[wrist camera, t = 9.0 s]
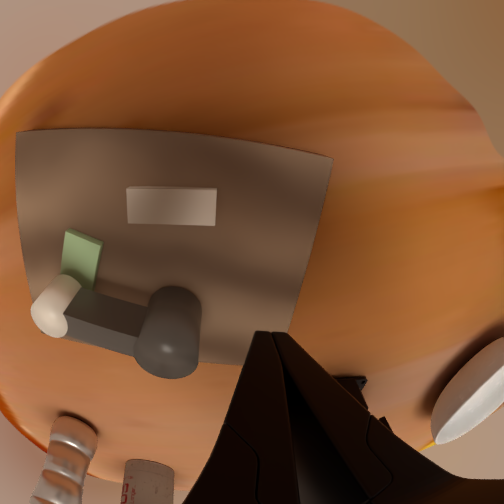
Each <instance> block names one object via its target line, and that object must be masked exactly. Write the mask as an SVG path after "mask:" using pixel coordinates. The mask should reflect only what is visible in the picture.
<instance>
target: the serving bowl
mask: <svg viewBox="0 0 504 504" xmlns="http://www.w3.org/2000/svg"><path fill="white" fill-rule="evenodd" d="M503 402H504V337H501V338H499V339H497V340H495V341H493V342H492V343H490V344H489V345H487V346H486V347H485V348H483V349H482V350H481V351H479V352H478V353H477V354H476V355H475V356H474V357H473V358H471V359H470V360H469V361H468V362H467V363H466V364H465V365H464V366H463V367H462V368H461V369H460V370H459V371H458V373H457V374H456V375H455V376H454V377H453V378H452V379H451V381H450V382H449V383H448V384H447V386H446V387H445V388H444V390H443V391H442V393H441V394H440V396H439V398H438V400H437V402H436V404H435V406H434V409H433V412H432V416H431V432H432V436H433V439H434V442H435V443H436V444H444V443H448V442H450V441H452V440H454V439H456V438H458V437H460V436H462V435H463V434H465V433H467V432H468V431H470V430H471V429H473V428H474V427H475V426H477V425H478V424H479V423H481V422H482V421H483V420H484V419H485V418H487V417H488V416H489V415H490V414H491V413H493V412H494V411H495V410H496V409H497V408H498V407H499V406H500V405H501V404H502V403H503Z"/></svg>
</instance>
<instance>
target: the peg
mask: <svg viewBox="0 0 504 504" xmlns="http://www.w3.org/2000/svg"><path fill="white" fill-rule="evenodd" d="M31 315H32V318H33V320H34V322H35V324H36V325H37V326H38V327H39V329H41V330H42V331H43V332H44V333H46V334H47V335H49V336H52V337H56V338H59V337H63V336H64V335H67V336H70V337H73V338H76V339H78V340H81V341H84V342H87V343H90V344H93V345H96V346H99V347H102V348H106V349H109V350H112V351H115V352H119V353H122V354H126V355H129V356H133V357H135V359H136V361H137V363H138V364H139V365H140V366H141V367H142V368H143V369H144V370H146V371H147V372H149V373H150V374H153V375H155V376H158V377H161V378H167V379H178V378H182V377H186V376H188V375H190V374H191V373H192V372H194V370H195V369H196V368H197V365H198V359H199V344H200V330H201V317H202V307H201V304H200V302H199V300H198V299H197V297H196V296H195V295H194V294H192V293H191V292H190V291H188V290H186V289H184V288H180V287H174V286H169V287H164V288H161V289H159V290H157V291H156V292H155V293H154V294H153V295H152V296H151V298H150V300H149V303H148V306H147V307H146V306H142V305H138V304H135V303H131V302H128V301H124V300H121V299H117V298H114V297H110V296H107V295H104V294H101V293H97V292H94V291H91V290H88V289H85V288H82V286H81V285H80V284H79V282H78V281H77V280H75V279H74V278H73V277H71V276H68V275H64V274H61V275H58V276H56V277H55V278H54V279H53V280H52V281H51V283H50V284H49V285H48V286H47V287H46V288H45V290H44V291H43V292H42V293H41V294H40V296H39V297H38V298H37V299H36V301H35V302H34V303H33V304H32V306H31Z"/></svg>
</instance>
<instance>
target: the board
mask: <svg viewBox="0 0 504 504" xmlns="http://www.w3.org/2000/svg"><path fill="white" fill-rule="evenodd" d="M333 161H334V159H333V158H330V157H327V156H324V155H321V154H316V153H312V152H307V151H303V150H298V149H293V148H288V147H283V146H278V145H272V144H267V143H261V142H255V141H249V140H243V139H236V138H229V137H222V136H214V135H206V134H197V133H187V132H177V131H165V130H150V129H131V128H56V129H38V130H29V131H22V132H16V152H15V180H16V201H17V214H18V224H19V232H20V240H21V247H22V253H23V259H24V265H25V270H26V275H27V280H28V284H29V289H30V293H31V297H32V301H33V303H34V302H35V301H36V299H37V298H38V297H39V296H40V294H41V293H42V292H43V291H44V290H45V288H46V287H47V286H48V285H49V284H50V283H51V281H52V280H53V279H54V278H55V277H56V276H58V275H61V274H64V275H68V276H71V277H73V278H74V279H75V280H77V281H78V282H79V284H80V285H81V286H82V288H85V289H88V290H91V291H94V292H97V293H101V294H104V295H107V296H110V297H114V298H117V299H121V300H124V301H128V302H131V303H135V304H138V305H142V306H146V307H147V306H148V303H149V300H150V298H151V296H152V295H153V294H154V293H155V292H156V291H157V290H159V289H161V288H164V287H169V286H174V287H180V288H184V289H186V290H188V291H190V292H191V293H192V294H194V295H195V296H196V297H197V299H198V300H199V302H200V304H201V307H202V317H201V330H200V344H199V359H198V362H204V363H216V364H229V365H244V362H245V359H246V356H247V353H248V350H249V347H250V344H251V341H252V338H253V335H254V332H255V331H256V330H260V331H269V332H273V331H277V332H286V333H287V332H288V329H289V325H290V322H291V319H292V316H293V313H294V309H295V306H296V303H297V299H298V296H299V293H300V289H301V286H302V282H303V279H304V275H305V272H306V268H307V265H308V261H309V257H310V254H311V250H312V246H313V243H314V239H315V235H316V231H317V227H318V224H319V220H320V216H321V212H322V208H323V204H324V199H325V195H326V191H327V187H328V183H329V178H330V174H331V170H332V165H333ZM41 333H44V332H43V331H42V330H41ZM44 334H46V333H44ZM59 338H63V339H67V340H71V341H75V342H79V343H84V344H88V345H93V344H90V343H87V342H84V341H81V340H78V339H76V338H73V337H70V336H67V335H64V336H63V337H59ZM93 346H96V345H93ZM98 347H99V346H98Z"/></svg>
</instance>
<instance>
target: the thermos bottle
mask: <svg viewBox="0 0 504 504" xmlns="http://www.w3.org/2000/svg"><path fill="white" fill-rule="evenodd" d="M173 491H174V471H173V470H172V469H171V468H169V467H167V466H165V465H163V464H160V463H156V462H152V461H147V460H129V461H127V463H126V467H125V474H124V481H123V488H122V496H121V504H173V493H174V492H173Z"/></svg>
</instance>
